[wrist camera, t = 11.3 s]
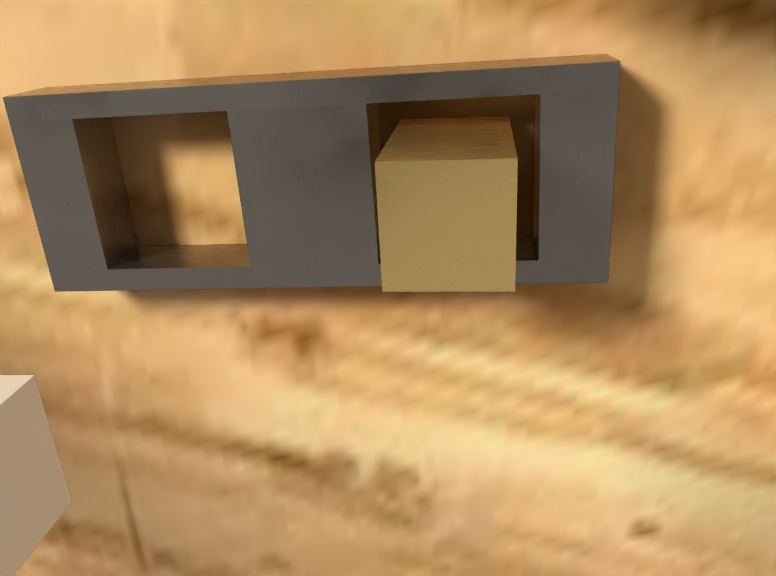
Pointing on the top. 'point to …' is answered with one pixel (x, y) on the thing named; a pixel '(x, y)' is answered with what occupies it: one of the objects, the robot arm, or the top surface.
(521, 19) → the top surface
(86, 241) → the gray slotted rack
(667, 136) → the top surface
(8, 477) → the robot arm
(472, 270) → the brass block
